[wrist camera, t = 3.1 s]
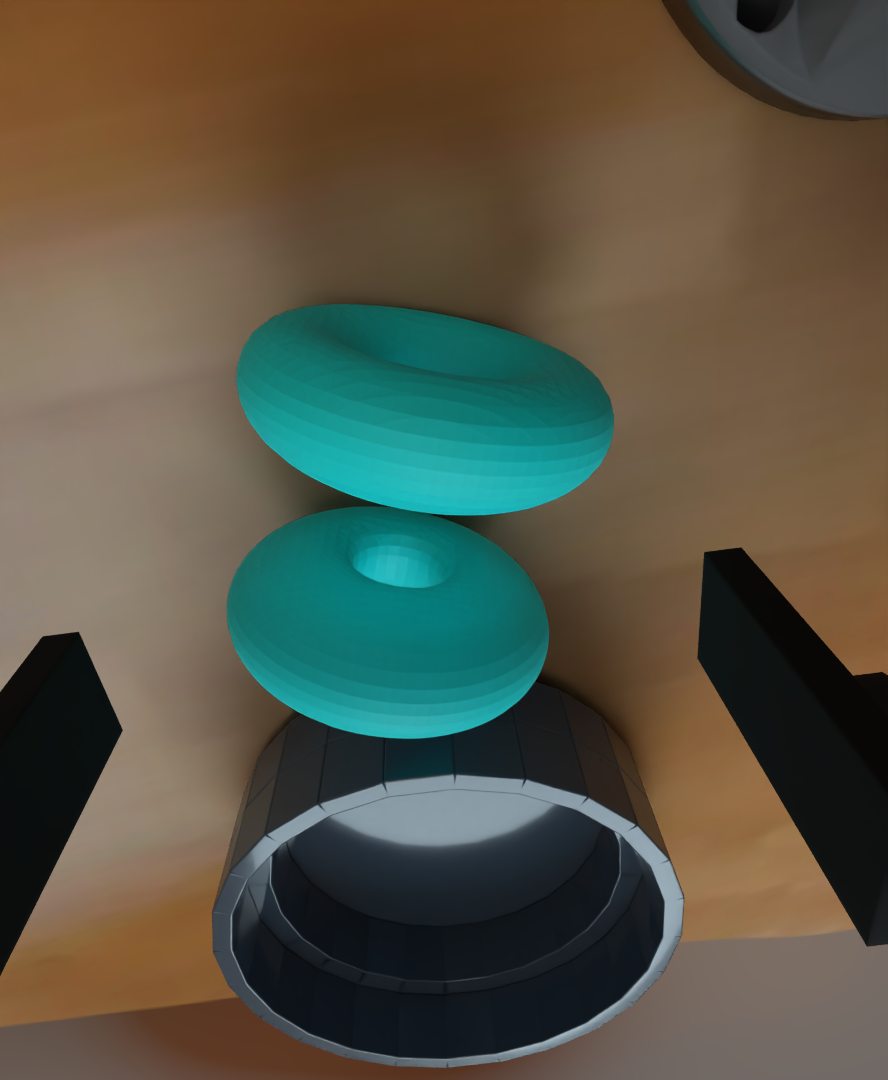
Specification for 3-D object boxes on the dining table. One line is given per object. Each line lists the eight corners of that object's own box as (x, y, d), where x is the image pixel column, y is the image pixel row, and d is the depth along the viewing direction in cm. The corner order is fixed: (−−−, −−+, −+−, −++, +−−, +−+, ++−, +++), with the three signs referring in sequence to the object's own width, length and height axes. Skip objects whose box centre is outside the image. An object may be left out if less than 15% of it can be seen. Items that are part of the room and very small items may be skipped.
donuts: (259, 551, 27) (185, 741, 18) (277, 277, 22) (188, 353, 13) (515, 585, 28) (562, 780, 19) (581, 331, 23) (684, 434, 15)
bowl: (639, 630, 29) (695, 744, 24) (635, 910, 38) (675, 1043, 32) (197, 684, 30) (146, 809, 24) (294, 949, 38) (274, 1087, 33)
